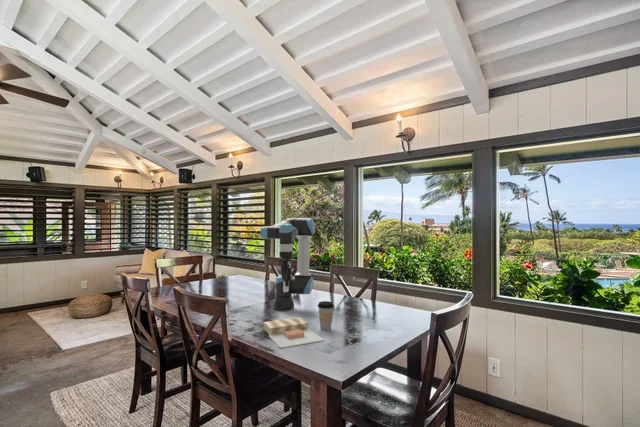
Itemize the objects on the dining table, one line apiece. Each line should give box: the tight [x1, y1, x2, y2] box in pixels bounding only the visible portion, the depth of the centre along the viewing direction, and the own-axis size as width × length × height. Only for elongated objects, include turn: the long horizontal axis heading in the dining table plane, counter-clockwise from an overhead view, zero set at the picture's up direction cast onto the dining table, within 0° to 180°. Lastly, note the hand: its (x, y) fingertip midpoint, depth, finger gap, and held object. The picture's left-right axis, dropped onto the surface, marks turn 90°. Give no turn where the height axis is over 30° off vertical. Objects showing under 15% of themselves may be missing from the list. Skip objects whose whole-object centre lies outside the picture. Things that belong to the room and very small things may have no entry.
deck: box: [263, 317, 309, 336], centre depth 184 cm, size 22×12×4 cm, turn 117°
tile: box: [284, 329, 304, 339], centre depth 173 cm, size 9×6×2 cm, turn 116°
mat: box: [268, 328, 325, 349], centre depth 171 cm, size 24×19×1 cm
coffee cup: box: [317, 300, 335, 332], centre depth 186 cm, size 9×9×15 cm
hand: (285, 291), depth 187 cm, fingers closed
